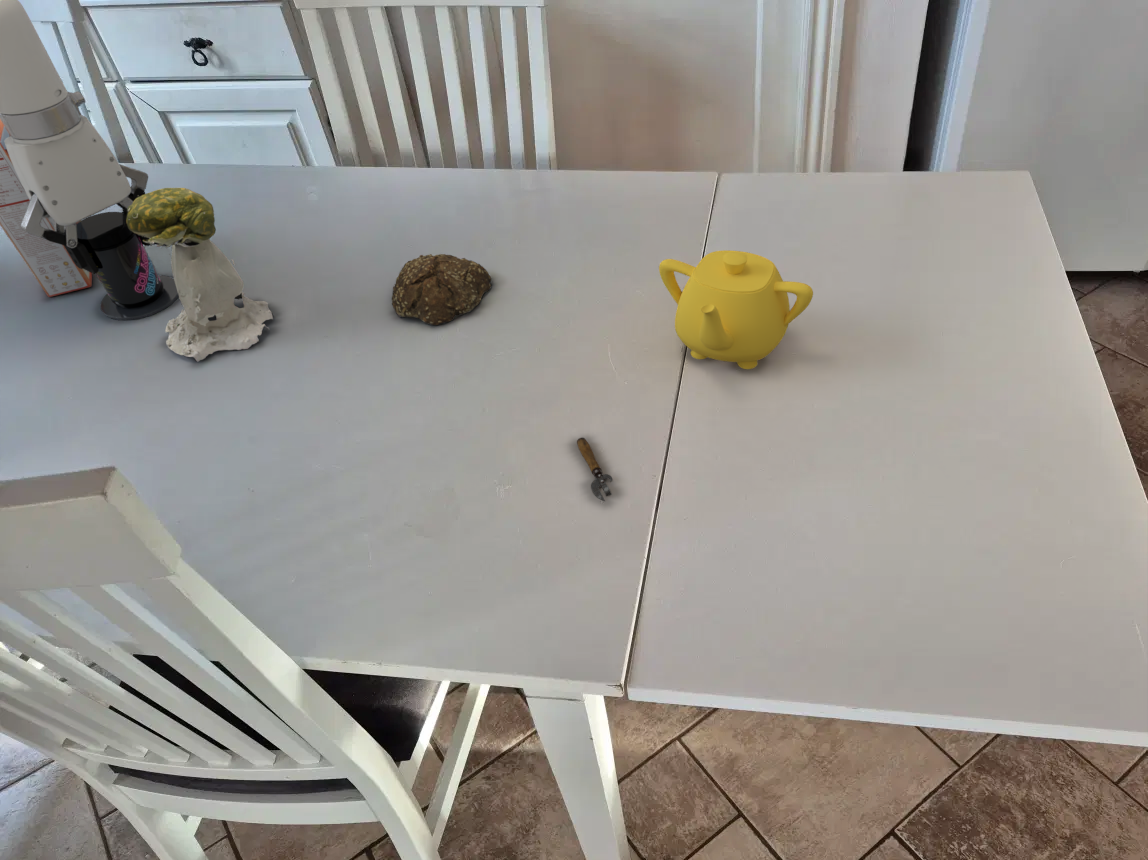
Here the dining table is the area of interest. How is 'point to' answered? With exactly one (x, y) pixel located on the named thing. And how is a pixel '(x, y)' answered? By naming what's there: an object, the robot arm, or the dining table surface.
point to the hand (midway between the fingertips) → (117, 255)
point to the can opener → (594, 469)
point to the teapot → (733, 305)
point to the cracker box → (48, 261)
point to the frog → (198, 274)
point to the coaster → (140, 312)
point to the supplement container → (120, 260)
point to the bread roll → (439, 288)
